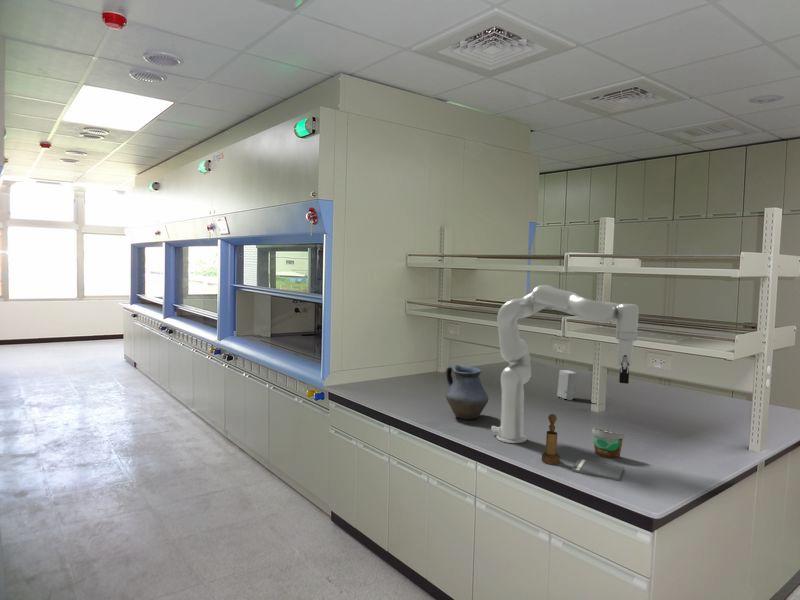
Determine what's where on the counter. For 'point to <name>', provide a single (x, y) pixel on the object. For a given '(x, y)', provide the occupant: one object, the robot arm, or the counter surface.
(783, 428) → the counter surface
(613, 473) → the mat
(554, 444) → the brown wooden turned post
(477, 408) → the pitcher
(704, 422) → the counter surface
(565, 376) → the skincare box
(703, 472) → the counter surface
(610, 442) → the food container
